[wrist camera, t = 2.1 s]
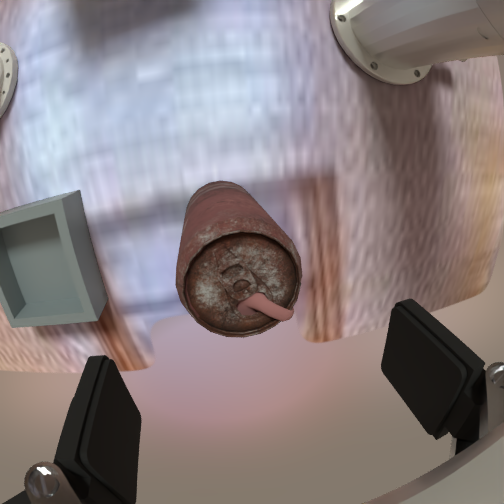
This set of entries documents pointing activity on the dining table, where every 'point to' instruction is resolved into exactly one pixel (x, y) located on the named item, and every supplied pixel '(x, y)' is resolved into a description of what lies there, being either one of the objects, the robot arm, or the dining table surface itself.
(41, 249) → the tray
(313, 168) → the dining table surface
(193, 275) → the can
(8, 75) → the mechanical component
